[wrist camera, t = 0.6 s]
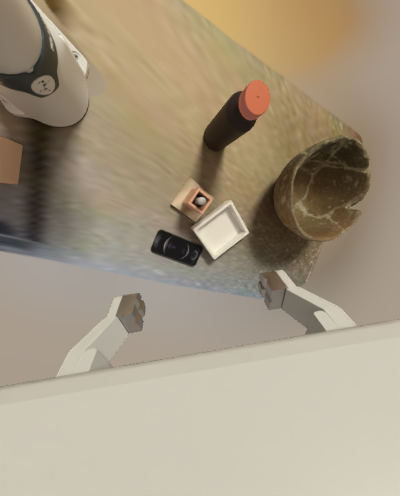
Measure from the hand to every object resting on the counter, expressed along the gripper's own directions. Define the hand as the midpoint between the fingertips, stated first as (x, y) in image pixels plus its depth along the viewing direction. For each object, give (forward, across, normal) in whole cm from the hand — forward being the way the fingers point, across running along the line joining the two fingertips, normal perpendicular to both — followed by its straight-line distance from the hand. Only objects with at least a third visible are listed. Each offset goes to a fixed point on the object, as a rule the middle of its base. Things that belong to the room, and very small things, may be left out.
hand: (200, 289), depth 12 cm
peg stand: (+41, -1, +7) cm, 42 cm away
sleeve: (+40, -1, +7) cm, 41 cm away
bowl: (+47, -35, +12) cm, 60 cm away
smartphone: (+37, +6, +20) cm, 42 cm away
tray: (+40, -8, +17) cm, 44 cm away
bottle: (+47, -10, -7) cm, 49 cm away
